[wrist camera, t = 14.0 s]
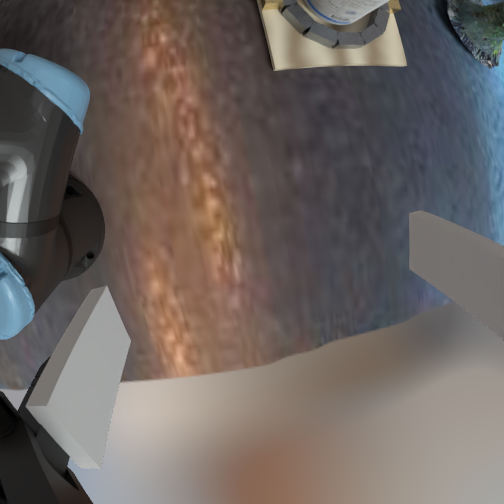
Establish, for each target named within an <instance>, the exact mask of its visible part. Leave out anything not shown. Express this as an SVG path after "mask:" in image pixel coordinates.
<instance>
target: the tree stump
mask: <svg viewBox="0 0 504 504" xmlns="http://www.w3.org/2000/svg"><path fill="white" fill-rule="evenodd" d="M447 13H448V15H449V18H450V21H451V23H452V26H453V28H454V29H455V31H456V32H457V34H458V36H459V38H460V39H461V41H462V43H463V45H464V46H465V47H466V48H467V49H468V50H469V51H470V52H471V53H472V55H473V56H474V57H475V58H476V59H477V60H478V61H479V62H480V63H481V64H483V65H484V66H487V67H488V68H489V69H490V68H491V69H492V67H494V66H498V65H499V61H498V60H499V57H500V55H501V51H502V49H501V44H503V42H502V41H503V40H504V2H500V3H497V4H492V5H487V6H485V5H484V4H483V3H482V1H481V0H447Z"/></svg>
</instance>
